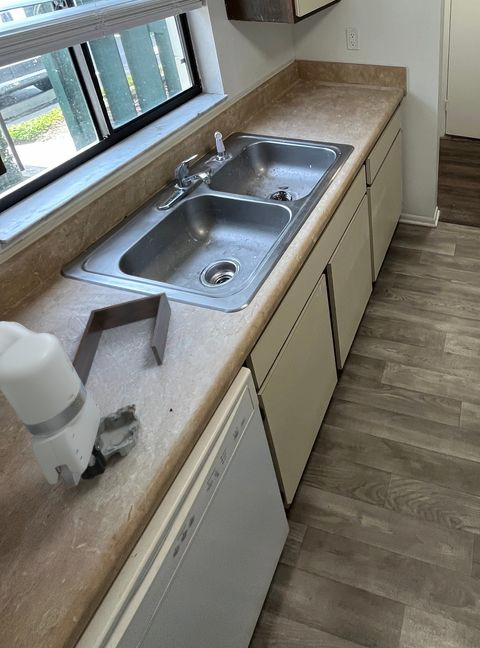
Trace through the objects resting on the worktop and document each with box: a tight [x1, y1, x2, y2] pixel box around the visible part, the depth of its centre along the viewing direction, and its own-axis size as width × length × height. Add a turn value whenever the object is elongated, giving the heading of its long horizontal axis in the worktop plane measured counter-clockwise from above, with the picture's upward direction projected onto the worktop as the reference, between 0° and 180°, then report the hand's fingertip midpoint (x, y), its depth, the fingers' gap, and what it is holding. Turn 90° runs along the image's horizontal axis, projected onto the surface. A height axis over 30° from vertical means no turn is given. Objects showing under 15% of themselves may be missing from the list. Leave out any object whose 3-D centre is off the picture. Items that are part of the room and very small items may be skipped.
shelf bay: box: [72, 291, 172, 388], centre depth 96 cm, size 15×15×6 cm
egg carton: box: [96, 403, 141, 462], centre depth 79 cm, size 11×8×4 cm
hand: (95, 471), depth 74 cm, fingers closed
